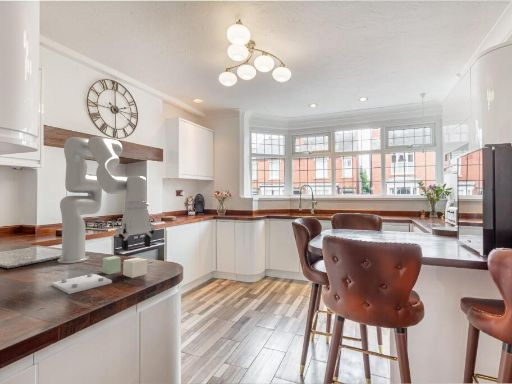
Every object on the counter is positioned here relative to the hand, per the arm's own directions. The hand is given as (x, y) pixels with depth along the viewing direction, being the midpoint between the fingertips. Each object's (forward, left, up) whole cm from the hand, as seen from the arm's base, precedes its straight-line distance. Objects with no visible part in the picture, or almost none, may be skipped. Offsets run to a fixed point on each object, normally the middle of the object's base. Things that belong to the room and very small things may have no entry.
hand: (136, 248), depth 112 cm
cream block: (-1, 0, -11) cm, 11 cm away
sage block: (-12, -4, -11) cm, 16 cm away
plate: (-5, -18, -11) cm, 22 cm away
